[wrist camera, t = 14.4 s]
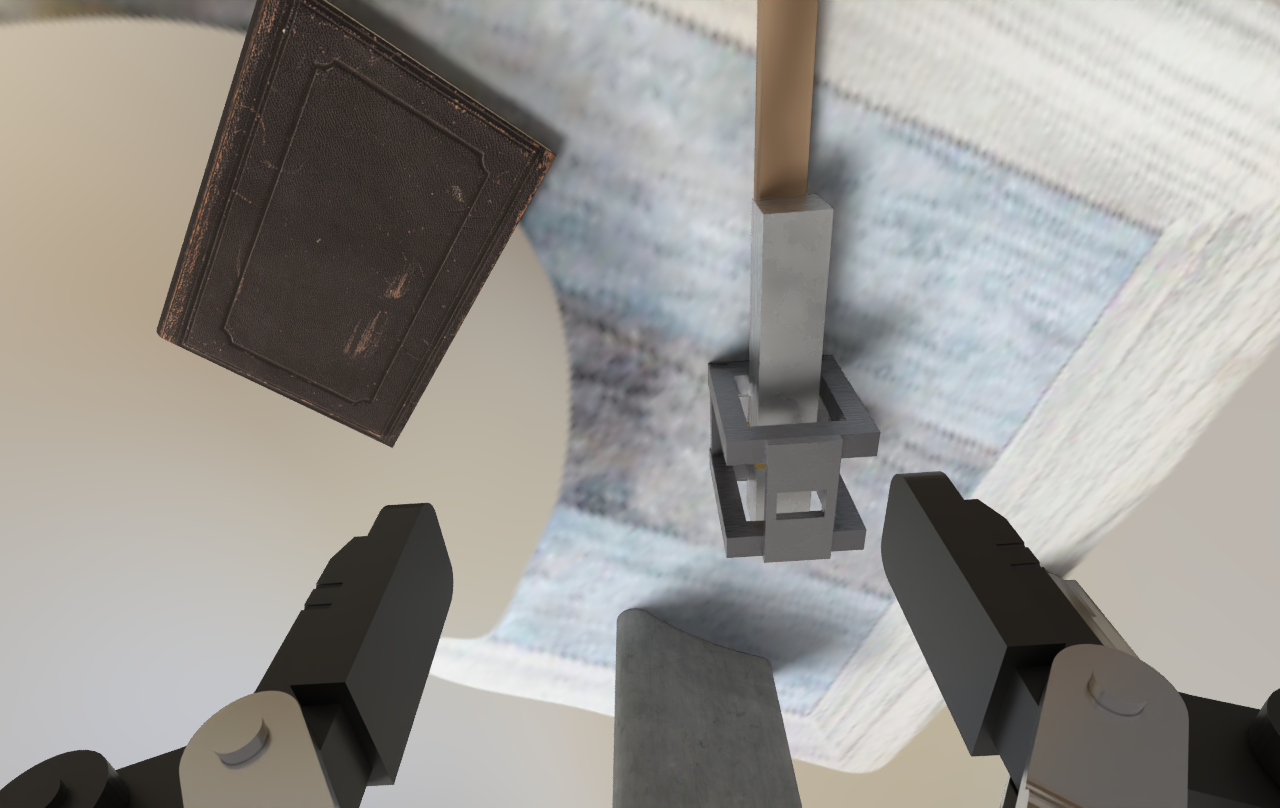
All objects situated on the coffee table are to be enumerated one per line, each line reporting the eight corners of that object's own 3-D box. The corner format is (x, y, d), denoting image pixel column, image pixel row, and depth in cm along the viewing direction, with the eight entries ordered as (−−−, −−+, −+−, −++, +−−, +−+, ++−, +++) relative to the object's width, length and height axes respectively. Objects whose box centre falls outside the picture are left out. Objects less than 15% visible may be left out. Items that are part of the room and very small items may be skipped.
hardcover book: (559, 149, 37) (555, 156, 35) (402, 430, 46) (392, 448, 44) (284, -36, 32) (261, -40, 30) (172, 318, 42) (149, 333, 40)
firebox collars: (832, 355, 43) (883, 438, 34) (822, 459, 47) (866, 556, 39) (707, 363, 43) (727, 448, 35) (709, 466, 48) (727, 564, 39)
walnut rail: (813, -102, 31) (824, -110, 29) (790, 342, 43) (796, 355, 41) (759, -97, 31) (767, -105, 29) (751, 344, 43) (756, 357, 41)
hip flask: (777, 663, 59) (838, 923, 42) (752, 687, 61) (800, 947, 44) (628, 603, 55) (626, 865, 38) (605, 631, 57) (594, 894, 39)
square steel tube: (750, 198, 36) (762, 215, 33) (818, 193, 36) (836, 209, 33) (745, 504, 47) (754, 539, 44) (797, 500, 47) (809, 536, 44)
